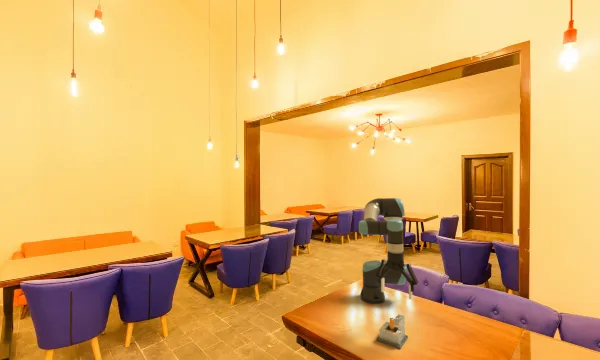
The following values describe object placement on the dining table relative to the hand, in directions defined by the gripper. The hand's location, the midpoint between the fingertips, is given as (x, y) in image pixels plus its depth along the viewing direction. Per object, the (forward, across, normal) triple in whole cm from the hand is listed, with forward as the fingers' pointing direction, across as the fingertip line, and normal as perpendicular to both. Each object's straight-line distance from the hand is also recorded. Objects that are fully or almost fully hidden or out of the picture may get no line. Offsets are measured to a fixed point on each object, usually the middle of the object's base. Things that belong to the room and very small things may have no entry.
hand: (396, 294), depth 133 cm
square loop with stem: (+18, 0, -3) cm, 18 cm away
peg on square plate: (+18, 0, -7) cm, 20 cm away
